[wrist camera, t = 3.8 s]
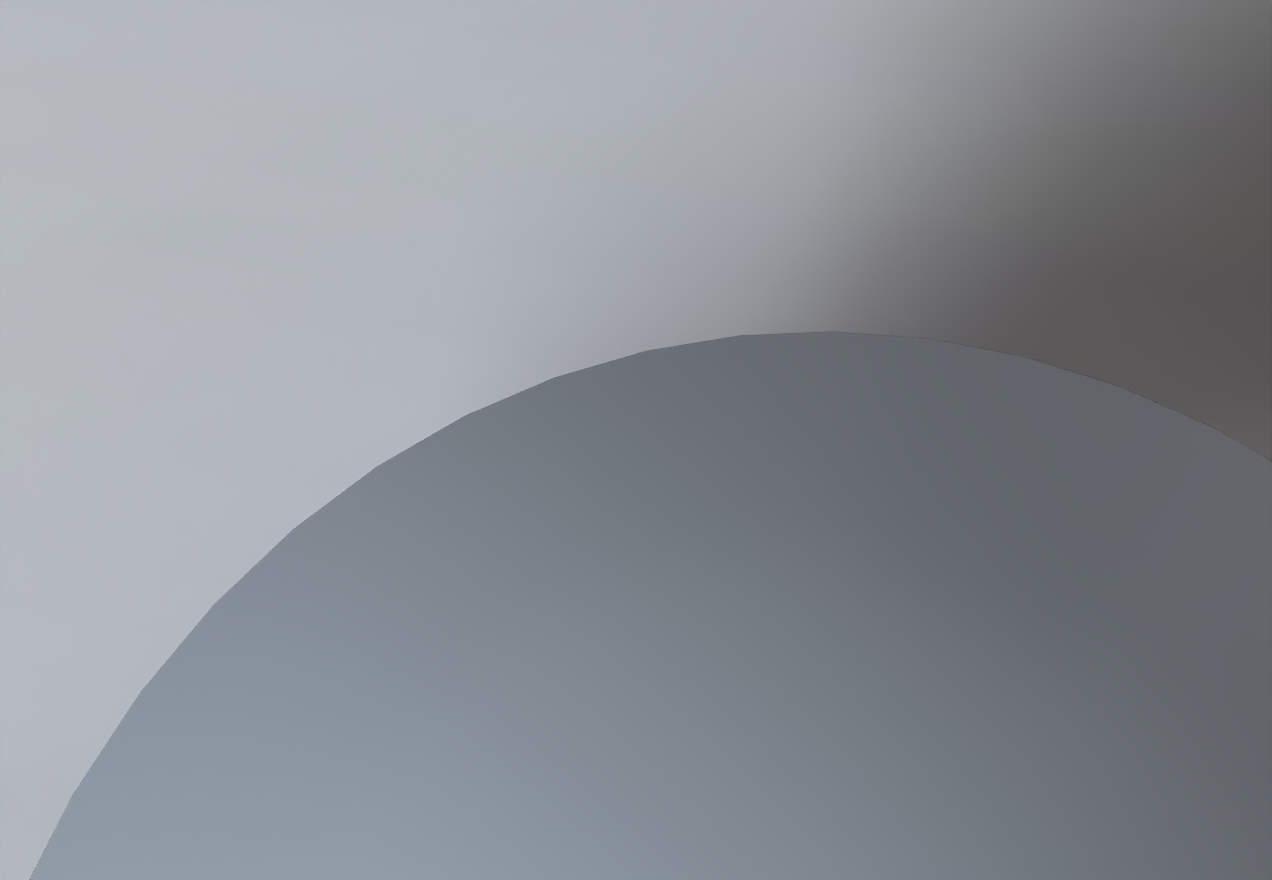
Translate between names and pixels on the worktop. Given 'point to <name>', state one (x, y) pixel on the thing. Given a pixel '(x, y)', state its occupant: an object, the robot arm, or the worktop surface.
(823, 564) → the canister
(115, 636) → the worktop surface
